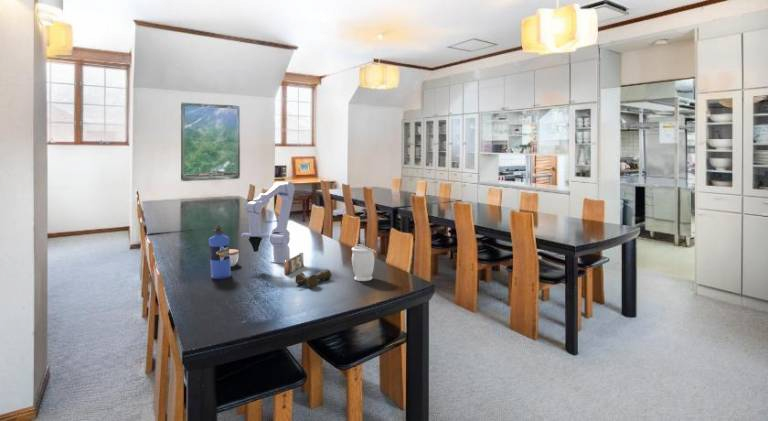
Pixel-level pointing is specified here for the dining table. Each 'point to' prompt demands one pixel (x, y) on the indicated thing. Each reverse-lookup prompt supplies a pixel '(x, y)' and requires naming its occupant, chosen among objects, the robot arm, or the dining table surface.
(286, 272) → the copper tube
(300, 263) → the tan flat block
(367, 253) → the jar
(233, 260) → the lidded jar
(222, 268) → the water bottle
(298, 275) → the dog chew
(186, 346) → the dining table surface
